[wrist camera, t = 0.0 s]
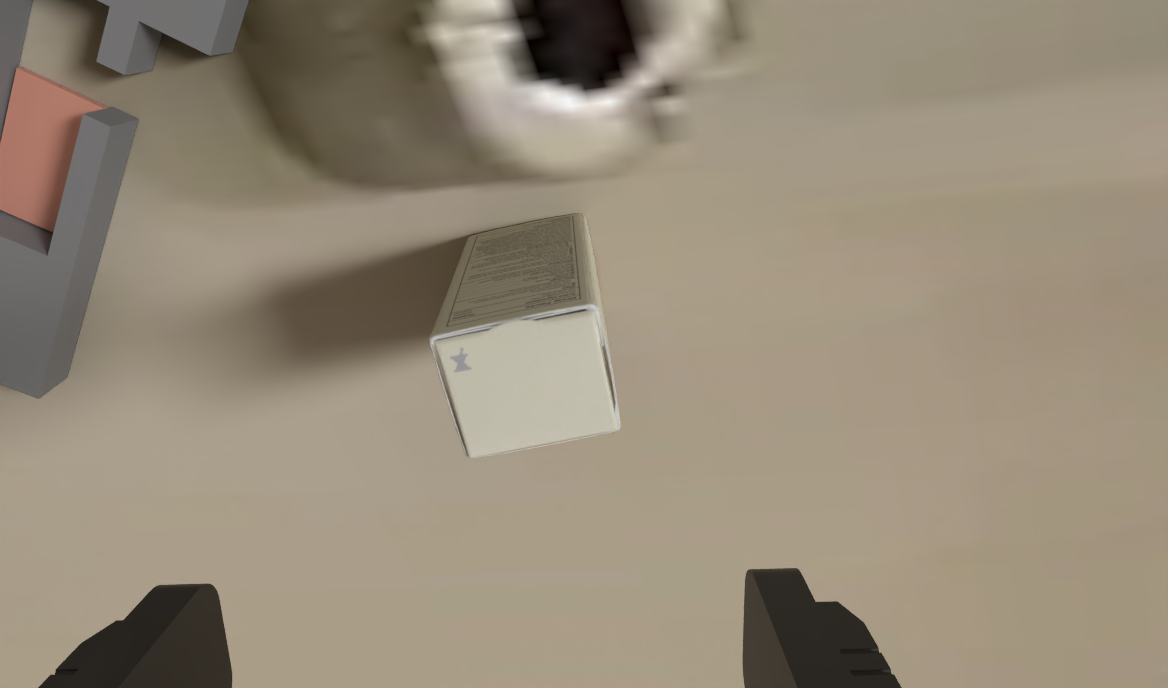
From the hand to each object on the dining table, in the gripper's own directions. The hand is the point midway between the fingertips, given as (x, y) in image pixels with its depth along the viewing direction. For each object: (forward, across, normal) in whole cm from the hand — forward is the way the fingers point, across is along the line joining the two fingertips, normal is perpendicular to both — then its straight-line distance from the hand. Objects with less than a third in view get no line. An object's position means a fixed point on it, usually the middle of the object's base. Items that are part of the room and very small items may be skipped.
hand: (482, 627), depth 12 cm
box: (+23, 0, -2) cm, 23 cm away
